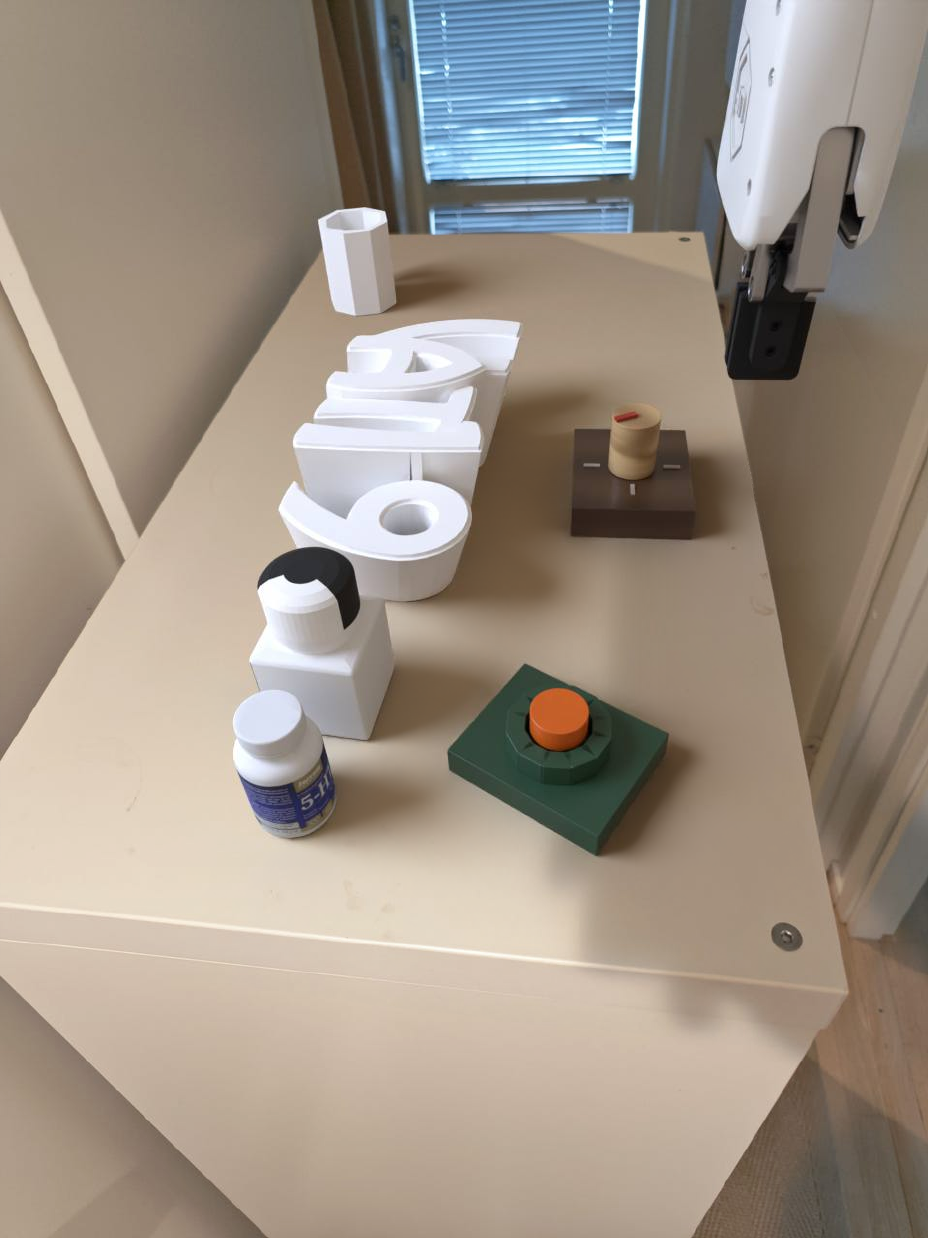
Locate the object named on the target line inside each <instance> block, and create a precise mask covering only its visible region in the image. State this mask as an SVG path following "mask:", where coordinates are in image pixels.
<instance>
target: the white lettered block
mask: <svg viewBox="0 0 928 1238" xmlns="http://www.w3.org/2000/svg"><path fill="white" fill-rule="evenodd" d="M523 330H524V324H523V323H521V321H520V322H519V321H513V320H512V321H511V320H504V319H503V320H502V319H488V318H487V319H486V318H485V319H483V318H468V319H467V318H466V319H465V318H464V319H463V318H462V319H450V320H449V319H448V320H446V319H445V320H439V321H438V320H437V321H430V322H424V323H423V322H422V323H417V324H411V325H407V326H403V327H402V326H401V327H398V328H395V329H391V330H387V331H384V332H381V333H377V334H372V335H371V334H370V335H368V334H367V335H366V334H365V335H356V336H354V337H353V339H351V340H350V342H349V343H348V344H347V346H346V360H347V361H346V363H347V371H338V370H335V371H333V372H332V374H331V375H330V376H329V378H328V379H327V381H326V384H325V390H326V391H325V392H326V398H325V399H324V401H322V402H321V403H320V404H319V406H318V407H317V409H316V410H315V412H314V415H313V418H312V420H313V423H309V422H304V423H303V424H302V425H301V426H300V427H299V428H298V430H296V432H295V434H294V436H293V439H292V447H293V451H294V453H295V457H296V461H297V464H298V468H299V471H300V475H301V479H302V482H303V485H304V490H305V491H304V490H303V489H302V487H300V485H299V484H298V483H297V481H295V480H293V482H292V483H291V485H290V486H289V487H288V489H287V490H286V492H285V495H284V496H283V498H282V499H281V502H280V504H279V506H278V513H279V514H280V516H281V518H282V520H283V522H284V525H285V526H286V528H287V530H288V532H289V534H290V536H291V538H292V540H293V542H294V544H295V546H296V549H299V548H304V547H323V548H328V549H331V550H334V551H336V552H338V553H340V554H342V555H343V556H345V557H346V558H347V559H348V560H349V561H350V562H351V564H352V565H353V568H354V571H355V576H356V582H357V587H358V592H359V594H360V595H370V596H379V597H382V598H383V599H384V601H391V602H392V601H393V602H413V601H420V600H421V601H422V600H424V599H427V598H431V597H433V596H435V595H438V594H440V593H441V592H442V591H443V590H445V589H446V588H448V586H449V585H450V584H451V583H452V581H453V579H454V577H455V575H456V572H457V569H458V565H459V562H460V559H461V556H462V553H463V550H464V547H465V545H466V544H465V543H466V542H467V541H466V540H467V538H468V535H469V531H470V529H471V525H472V519H473V513H472V504H473V498H474V494H475V488H476V484H477V483H476V482H477V478H478V474H479V468H482V466H483V465H484V464H485V463H486V460H487V456H488V453H489V449H490V446H491V442H492V439H493V435H494V432H495V429H496V426H497V421H498V418H499V415H500V411H501V409H502V405H503V401H504V398H505V394H506V392H507V391H506V390H507V388H508V384H509V381H510V380H509V379H510V377H511V374H512V370H513V367H514V361H515V358H516V355H517V351H518V348H519V344H520V340H521V337H522V334H523Z"/></svg>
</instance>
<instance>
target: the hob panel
mask: <svg viewBox="0 0 928 1238" xmlns="http://www.w3.org/2000/svg"><path fill="white" fill-rule="evenodd" d="M610 434H611V428H574V431H573V450H572V451H573V452H572V480H571V505H570V508H571V510H570V534H569V535H570V537H593V538H594V537H595V538H597V537H598V538H628V539H630V538H631V539H662V540H692V537H693V532H694V526H695V520H696V515H697V508H696V499H695V494H694V493H695V491H694V484H693V477H692V469H691V463H690V454H689V446H688V440H687V431H686V429H660V433H659V441H658V449H657V457H656V465H655V470H654V472H653V473H652V474H651V475H650V476H648V477H646V478H643V479H638V480H628V479H623V478H620V477H617V476H615V475H614V474H613V473H611V471H610V470H609V468H608V460H609V447H610Z"/></svg>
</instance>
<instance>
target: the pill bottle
mask: <svg viewBox="0 0 928 1238" xmlns="http://www.w3.org/2000/svg"><path fill="white" fill-rule="evenodd" d="M232 728H233V731H234V733H235V737H236V738H235V741H234V744H233V748H232V759H233V764H234V767H235V769H236V772H237V775H238V777H239V780H240V783H241V785H242V787H243V790H244V792H245V795H246V797H247V800H248V802H249V805H250V807H251V810H252V812H253V814H254V817H255V819H256V821H257V823H258V824H259V826H261V828H262V829H263V830H264V831H266V832H267V833H269V834H271V835H273V836H275V837H279V838H285V839H287V838H288V839H295V838H300V837H303V836H306V835H309V834H311V833H313V832H315V831H316V830H318V829H320V828H321V827H322V826H323V825H324V824H325V823H326V822H327V821H328V820H329V819H330V817H331V816H332V814H333V812H334V810H335V808H336V805H337V801H338V800H337V798H338V793H337V788H336V785H335V779H334V777H333V776H334V775H333V772H332V769H331V765H330V761H329V757H328V754H327V749H326V747H325V742H324V738H323V735H322V734H321V732H320V730H319V728H318V726H317V725H316V723H315V722H314V721H313V720H312V719H311V718H309V717H308V716H306V715H305V713H304V710H303V708H302V705H301V703H300V701H299V700H298V698H296V697H295V696H294V695H293V694H291V693H289V692H286V691H282V690H267V691H262V692H260V691H259V692H256V693H254V694H252V695H250V696H249V697H247V698H246V699H245V700H243V701H242V702H241V704H239V706H238V707H237V709H236V710H235V712H234V715H233V718H232Z"/></svg>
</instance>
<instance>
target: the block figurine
mask: <svg viewBox="0 0 928 1238" xmlns="http://www.w3.org/2000/svg"><path fill="white" fill-rule="evenodd" d="M256 588H257V589H256V590H257V594H258V597H259V600H260V605H261V607H262V610H263V613H264V616H265V619H266V623H267V624H266V626H265V628H264V630H263V631H262V634H261V635H260V637H259V639H258V641H257V643H256V645H255V647H254V649H253V651H252V653H251V654H250V657H249V664H250V667H251V670H252V673H253V676H254V678H255V682H256V684H257V687H258V690H259V692H262V691H267V690H282V691H286V692H289V693H291V694H293V695H294V696H295V697H296V698H298V700H299V701H300V703H301V705H302V708H303V710H304V713H305V715H306V716H308V717H309V718H311V719H312V720H313V721H314V722H315V723H316V725H317V726H318V728H319V730H320V732H321V735H322V736H323V735H324V736H330V737H338V738H343V739H344V738H346V739H353V740H358V741H359V740H361V741H368V740H369V739H370V738H371V736H372V733H373V729H374V727H375V724H376V721H377V719H378V716H379V714H380V710H381V707H382V705H383V702H384V699H385V696H386V694H387V690H388V687H389V684H390V682H391V679H392V677H393V674H394V670H395V667H396V662H395V661H396V660H395V655H394V650H393V644H392V639H391V633H390V627H389V626H390V625H389V620H388V615H387V614H388V613H387V607H386V602H385V600H384V599H383V598H382V597H379V596H370V595H361V594H359V592H358V587H357V582H356V576H355V571H354V568H353V565H352V564H351V562H350V561H349V560H348V559H347V558H346V557H345V556H343V555H342V554H340V553H338V552H336V551H334V550H331V549H328V548H323V547H304V548H299V549H298V548H295V549H292V550H289V551H285V552H283V553H282V554H280V555H278V556H277V557H275V558H274V559H272V561H270V562H269V563H268V564H267V566H266V567H265V568H264V569H263V571H261V574H260V575H259V578H258V580H257V585H256Z"/></svg>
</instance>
